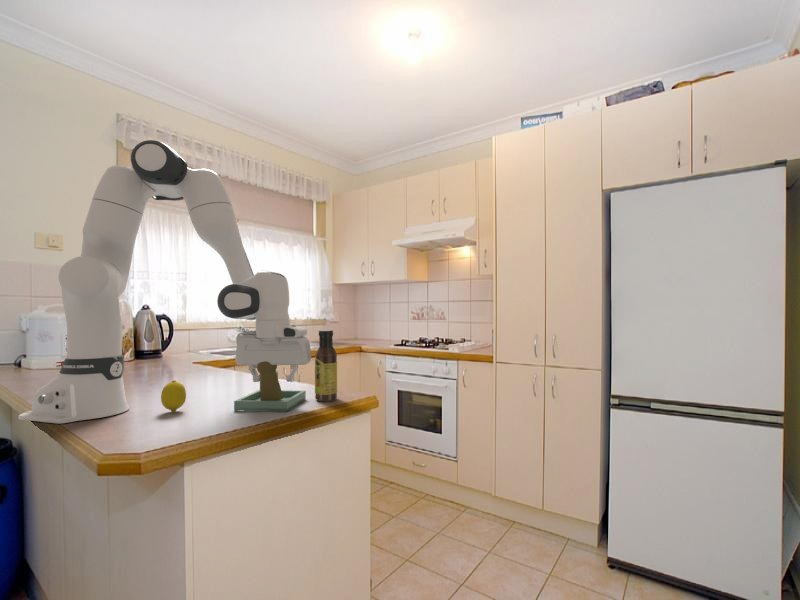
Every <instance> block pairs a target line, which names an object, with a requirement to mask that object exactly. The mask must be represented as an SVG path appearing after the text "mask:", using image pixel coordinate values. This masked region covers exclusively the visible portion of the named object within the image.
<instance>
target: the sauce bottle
mask: <svg viewBox="0 0 800 600" xmlns="http://www.w3.org/2000/svg"><path fill="white" fill-rule="evenodd" d="M333 336H334V331H333V330H332V329H319V330H318V338H319V339H318V340H319V342H318V346H319V347H318V349H317V350H316V352H315V354H314V355H315V356H314V394H315V396H314V398H315V400H317V402H325V403H326V402H333V401H336V400H337V397H338V361H337V360H338V358H337V357H338V355H337V351H336V350H335V348H334V346H333V345H334V344H333Z"/></svg>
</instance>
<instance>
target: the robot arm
mask: <svg viewBox="0 0 800 600" xmlns="http://www.w3.org/2000/svg"><path fill="white" fill-rule="evenodd" d="M130 163H131V167H130V166H127V165H122V164H115V165H111V166H109V167H108V168H107V169H105V171H104V172H103V175H102V176H101V178H100V180H99V181H98V184H97V186H96V188H95V190H94V193H93V197H92V199H91V201H90V202H91V203H90V205H89V208H88V212H87V214H86V218H85V222H84V224H83V228H82V245H81V253H80V256H76V257H73V258H71V259H69V260H68V261H67V260H66V262H65V263H64V264H63V265H62V266H61V267H60V269H59V272H58V281H59V285H60V288H61V296H62V305H63V311H64V316H65V321H66V322H65V323H66V358H64V361H57V362H55V364H57V365H56V366H55V367H56V368H59V367H61V368H60V370H59V374H58V375H57V376H56V377H54V378H53V379H52V380H50V381H49V382H48V383H46V384H45V385H43V386H41V388H39V389H37V391H35V393H34V394H33V399H32V402H31V403H32V404H31V410H27V411H25V412H23V413H20V414H18V418H17V419H18V420H22V421H31V422H32V421H33V422H40V423H50V424H60V425H61V424H66V423H73V422H77V421H86V420H93V419H101V418H105V417H111V416H114V415H118V414H122V413H125V412H127V411H128V410H129V409H130V406H129V404H128V402H127V397H126V392H125V386H124V385H125V384H124V379H123V373H124V369H125V360H124V359H125V358H124V355H123V323H122V317H121V311H120V300H119V299H120V298H119V297H120V296H122V295H123V293H124V292H125V290H126V287H127V283H128V280H129V275H130V271H131V270H130V269H131V266H132V258H133V253H134V248H135V243H136V240H137V237H138V236H137V235H138V233H139V229H140V226H141V221H142V219H143V216H144V211H145V207H146V205H147V203H148V201H149V199H151V198H152V199H153V200H155V201H175V202H176V201H178V202H179V201H183V200H184V202H185V204H186V207H187V212H188V215H189V218H190V221H191V224H192V226H193V228H194V230H195V232H196V233H197V235H198V237H199V238H200V240H202V242H205V243H206V244H207V245H208V246H209V247H211V248H212V249H213V250H214V251H215V252H216V253H217V254H218V255H219V256H220V258H222V260H223V261H224V263H225V267H226V268H227V271H228V274H229V277H230V280H231V282H232V283H231V284H228V285H226V286H224V287H223V288H222V289H221V290H220V292H219V294H218V296H217V300H216V301H217V307H218V310H219V311H220V313H221V314H222V315H223V316H224V317H227V318H229V319H234V320H249V321H255V330H242V331H240V333H238V334H237V335H236V338H235V339H236V349H235V357H234V358H235V361H234V362H235V363H236V364H237V365H238V366H248V371H249V373H250V374H251V376H252V382H253V383H260V373H259V372H258V370H256V369H257V365H258V364H259V363H260V362H264V361H267V362H269V363H270V364H271V365H277V366H290V370H291V371H290V374H287V375H286V382H289V383H293V382H294V381H295V374H296V373H297V371H298V370H299V366H302V365H303V366H305V365H308V364H309V363H310V362H311V360H312V351H311V350H312V349H311V345H310V344H311V343H310V340H309V339H308V338H307V337H306V336H307V335H308V330H307V328H306V327H302V326H299V325H296V324H292V323H290V321H291V319H290V315H289V306H290V291H289V289H290V288H289V283H288V279H287V277H286V276H285V275H283V274H281V273H279V272H275V271H270V270H260V271H258V272H257V273H255V274H254V272H253V269H252V266H251V263H250V261H249V257H248V255H247V253H246V250H245V248H244V245H243V241H242V238H241V234H240V229H239V225H238V223H237V222H238V221H237V219H236V218H237V217H236V215H235V211H234V207H233V205H232V202H231V198H230V196H229V194H228V192H227V189H226V187H225V184H224V183H223V181H222V179H221V178H220V176H219V174H218V173H216V172H214V171H213V170H211V169H207V168H198V169H192V168H190V167H188V162H187V161H186V160H185V159H183V157H182V156H180V154H178V153H177V152H176V151H175V149H173V148H171V147H170V146H169V145H168V144H165V143H164V142H161V141H160V140H159V141H158V140H153V139H152V140H151V139H148V140H142V141H140V142H139V143H137V144H136V145H135V146H134V147H133V149H132V150H131V153H130Z"/></svg>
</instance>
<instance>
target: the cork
mask: <svg viewBox="0 0 800 600" xmlns="http://www.w3.org/2000/svg"><path fill="white" fill-rule="evenodd" d="M277 368H278V365H271V364H270V363H269V362H267V361H264V362H260V363H259V364H258V365H257V368H256V369H257V370H256V371H257V373H258V374H260V381H259V390H260V401H278V400H281V399H283V394H282V391H281V390H282V388H281V385H280V384H281V383H280V381H279V376H278V377H277V374H276V369H277ZM277 370H278V369H277Z"/></svg>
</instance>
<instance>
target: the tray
mask: <svg viewBox="0 0 800 600" xmlns="http://www.w3.org/2000/svg"><path fill="white" fill-rule="evenodd" d="M281 391H282V394H283V399H281V400H278V401H260V389H258V390H256V391H254V392H251V393H249V394H247V395H245V396H241V397H240V398H238V399H235V400H234V401H233V411H234V410H244V411H243V412H263V411H264V413H265V412H272V413H273V412H274V413H277V412H278V413H287V412H289V411H291V410H292V409H293V408H295V407H297V406H298V405H300V404H302V403H303V402H304V401H305V399H306V398H307V396H306V395H307V394H306V393H307V392H306V390H290V389H289V390H282V389H281ZM302 401H303V402H302ZM299 403H300V404H299Z"/></svg>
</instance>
